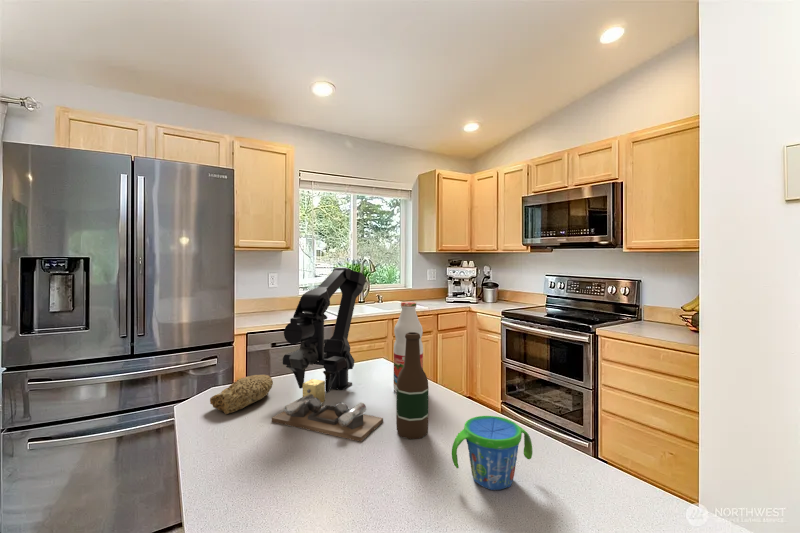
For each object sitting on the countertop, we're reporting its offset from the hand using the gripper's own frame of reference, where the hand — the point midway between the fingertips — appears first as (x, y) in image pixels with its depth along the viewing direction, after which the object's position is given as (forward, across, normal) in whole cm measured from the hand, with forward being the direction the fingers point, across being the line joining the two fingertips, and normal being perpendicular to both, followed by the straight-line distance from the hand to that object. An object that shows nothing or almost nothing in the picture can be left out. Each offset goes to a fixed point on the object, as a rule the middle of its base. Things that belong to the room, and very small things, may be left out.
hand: (314, 390), depth 109 cm
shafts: (+2, +11, -10) cm, 15 cm away
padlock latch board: (+3, +11, -9) cm, 15 cm away
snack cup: (+4, +54, -18) cm, 57 cm away
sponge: (+4, -19, -7) cm, 21 cm away
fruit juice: (+4, +21, +21) cm, 30 cm away
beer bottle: (+4, +33, -6) cm, 34 cm away
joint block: (+4, 0, 0) cm, 4 cm away
